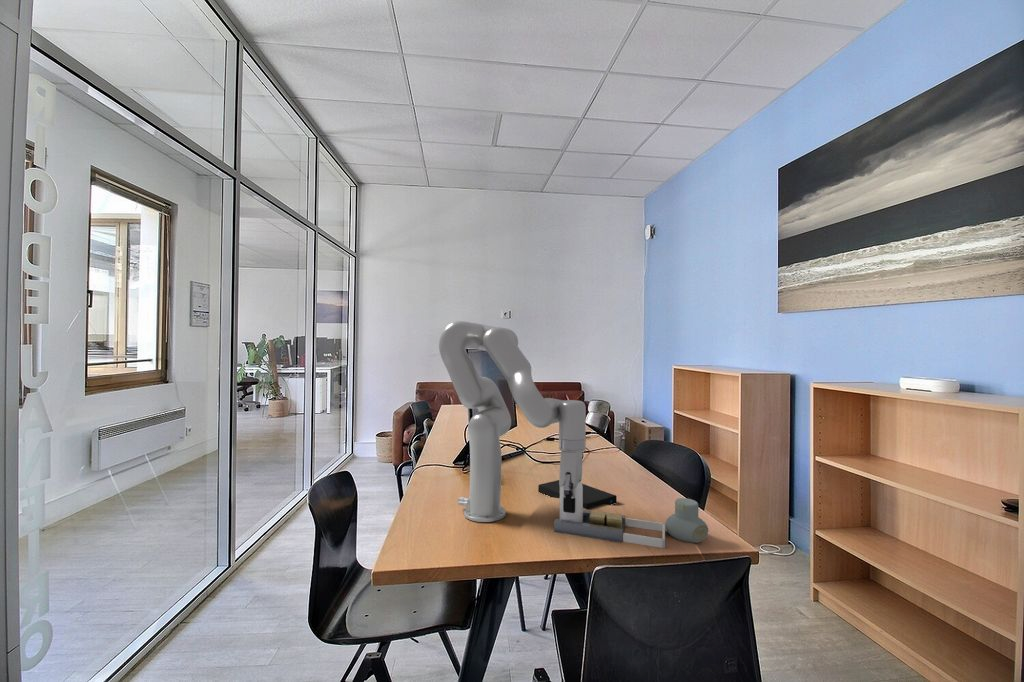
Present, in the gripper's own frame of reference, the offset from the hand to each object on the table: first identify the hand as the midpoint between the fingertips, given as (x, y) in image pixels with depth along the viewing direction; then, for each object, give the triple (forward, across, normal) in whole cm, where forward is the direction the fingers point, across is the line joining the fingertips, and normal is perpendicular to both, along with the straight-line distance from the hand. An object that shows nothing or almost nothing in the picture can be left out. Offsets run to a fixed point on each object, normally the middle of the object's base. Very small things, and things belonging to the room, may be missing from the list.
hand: (571, 507), depth 121 cm
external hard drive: (+6, -26, -4) cm, 27 cm away
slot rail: (+6, 0, +5) cm, 8 cm away
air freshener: (+6, -5, +30) cm, 31 cm away
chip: (+5, 0, +12) cm, 13 cm away
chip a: (+5, 0, +7) cm, 9 cm away
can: (+4, 0, 0) cm, 4 cm away
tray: (+6, 0, +20) cm, 21 cm away
